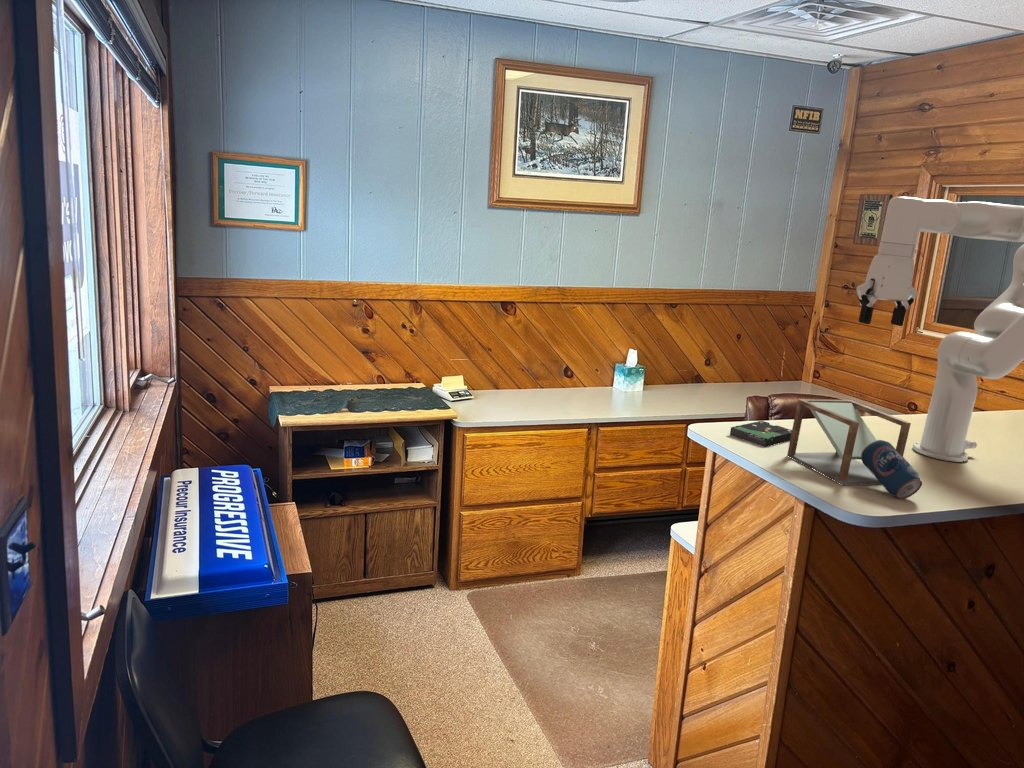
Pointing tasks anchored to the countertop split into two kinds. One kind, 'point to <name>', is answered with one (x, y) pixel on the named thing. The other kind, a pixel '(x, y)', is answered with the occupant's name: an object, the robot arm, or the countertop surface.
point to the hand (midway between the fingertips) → (880, 324)
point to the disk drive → (761, 433)
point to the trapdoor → (843, 428)
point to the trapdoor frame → (831, 461)
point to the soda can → (891, 469)
